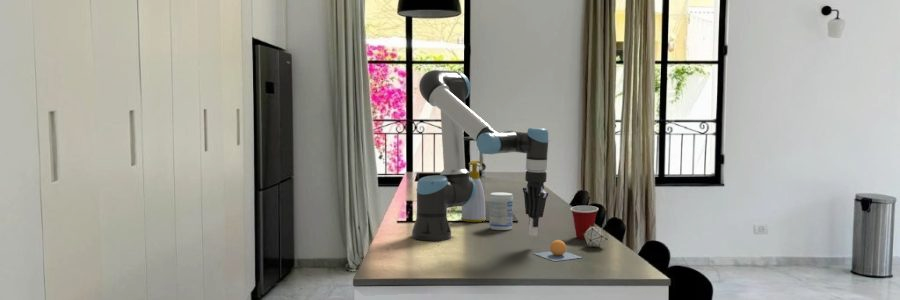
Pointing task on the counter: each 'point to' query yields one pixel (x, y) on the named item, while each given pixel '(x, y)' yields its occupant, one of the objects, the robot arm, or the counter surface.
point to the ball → (558, 247)
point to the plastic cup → (583, 219)
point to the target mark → (557, 258)
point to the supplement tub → (501, 211)
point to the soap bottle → (475, 199)
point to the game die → (594, 236)
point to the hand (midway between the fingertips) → (533, 235)
